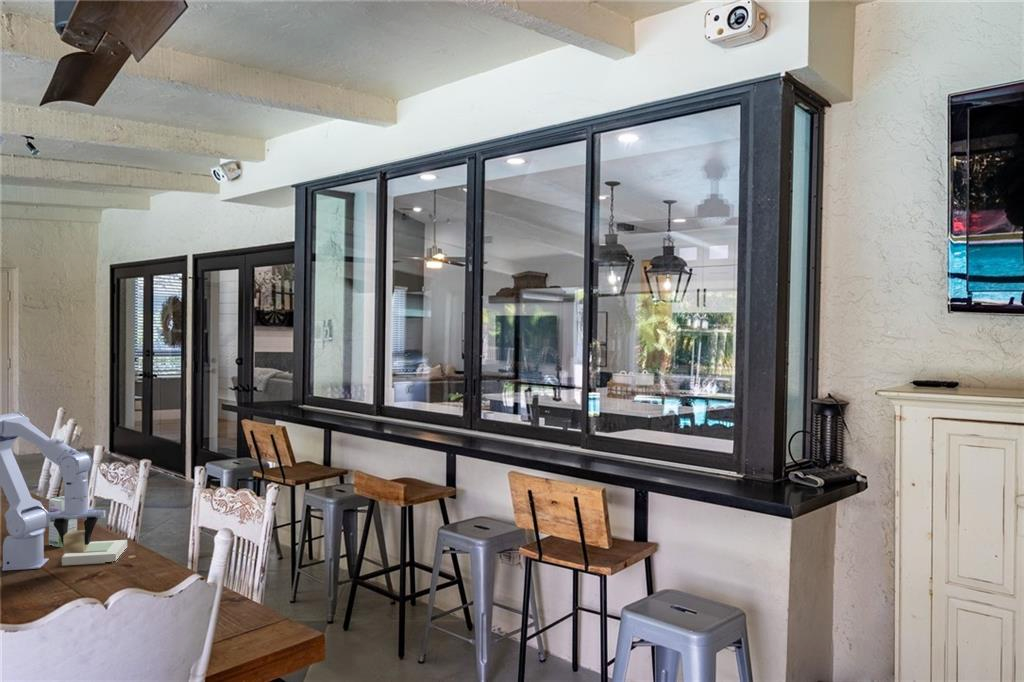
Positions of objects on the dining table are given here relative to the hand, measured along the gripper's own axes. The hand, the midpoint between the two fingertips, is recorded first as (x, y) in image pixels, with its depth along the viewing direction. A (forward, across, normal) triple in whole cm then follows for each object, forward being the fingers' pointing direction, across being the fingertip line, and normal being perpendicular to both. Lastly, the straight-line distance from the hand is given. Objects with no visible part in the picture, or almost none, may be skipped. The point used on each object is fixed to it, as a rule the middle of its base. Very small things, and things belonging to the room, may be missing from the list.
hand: (76, 544), depth 213 cm
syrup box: (+8, -11, +26) cm, 30 cm away
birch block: (+2, 0, 0) cm, 2 cm away
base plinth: (+7, +2, +12) cm, 14 cm away
